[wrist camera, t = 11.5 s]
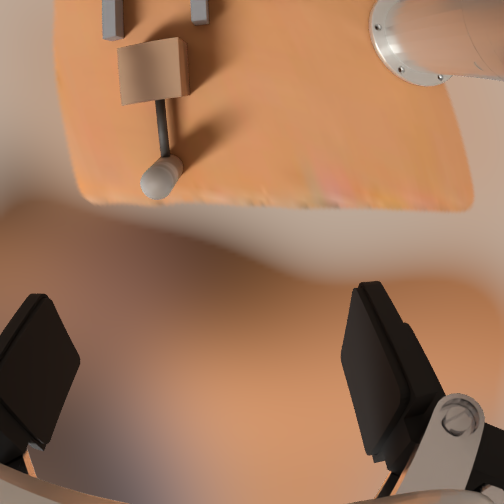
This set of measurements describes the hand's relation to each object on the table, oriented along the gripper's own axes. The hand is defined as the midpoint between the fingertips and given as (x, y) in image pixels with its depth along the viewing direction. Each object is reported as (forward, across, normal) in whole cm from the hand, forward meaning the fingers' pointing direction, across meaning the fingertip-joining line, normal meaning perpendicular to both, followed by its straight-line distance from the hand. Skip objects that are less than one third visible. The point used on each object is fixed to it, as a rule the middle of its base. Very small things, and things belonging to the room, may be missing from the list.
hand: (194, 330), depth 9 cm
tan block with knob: (+28, +7, -4) cm, 30 cm away
